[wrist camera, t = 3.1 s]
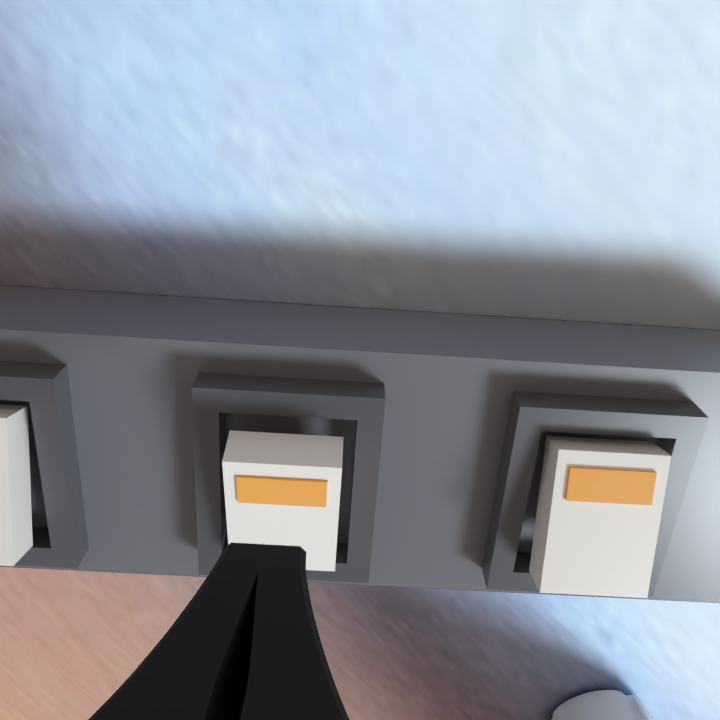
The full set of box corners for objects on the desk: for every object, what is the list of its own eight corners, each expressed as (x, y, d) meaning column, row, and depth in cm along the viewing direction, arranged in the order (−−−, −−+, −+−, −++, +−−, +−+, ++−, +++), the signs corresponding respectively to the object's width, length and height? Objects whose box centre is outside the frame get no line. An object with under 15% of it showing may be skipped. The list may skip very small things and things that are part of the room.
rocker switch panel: (-124, 491, 21) (-221, 577, 18) (-183, 274, 18) (-311, 324, 15) (868, 544, 22) (964, 636, 18) (960, 345, 19) (1093, 409, 16)
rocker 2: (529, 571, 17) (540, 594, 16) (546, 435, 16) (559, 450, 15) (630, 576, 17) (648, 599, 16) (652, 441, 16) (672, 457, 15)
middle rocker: (236, 534, 18) (229, 568, 17) (229, 430, 15) (221, 463, 15) (336, 539, 18) (334, 573, 17) (343, 436, 16) (341, 470, 15)
